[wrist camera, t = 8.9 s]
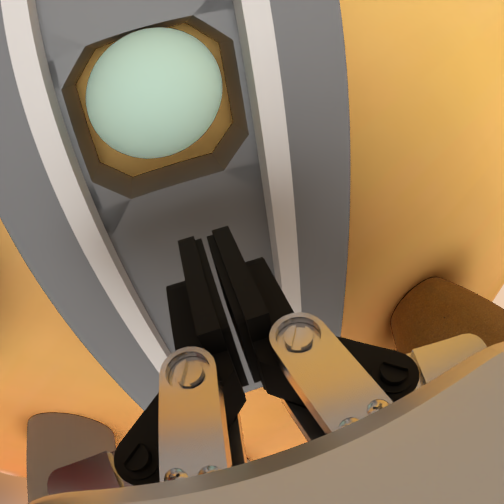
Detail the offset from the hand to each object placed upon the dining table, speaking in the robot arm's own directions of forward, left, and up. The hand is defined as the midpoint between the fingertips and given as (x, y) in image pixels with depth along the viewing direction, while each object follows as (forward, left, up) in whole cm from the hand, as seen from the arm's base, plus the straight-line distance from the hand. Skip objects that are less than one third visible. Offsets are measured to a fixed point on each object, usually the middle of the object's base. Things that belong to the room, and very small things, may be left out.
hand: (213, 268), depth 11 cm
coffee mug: (+21, +22, -7) cm, 31 cm away
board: (0, +2, -6) cm, 7 cm away
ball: (0, -6, -4) cm, 7 cm away
